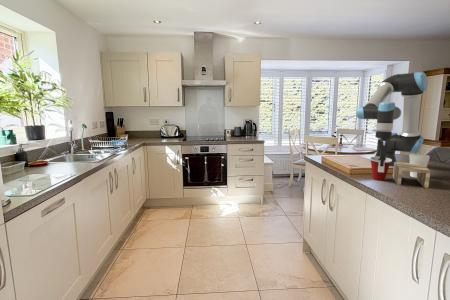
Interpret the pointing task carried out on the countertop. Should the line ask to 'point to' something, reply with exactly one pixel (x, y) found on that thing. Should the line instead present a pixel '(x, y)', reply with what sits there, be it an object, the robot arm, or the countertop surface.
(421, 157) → the foam cup
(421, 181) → the oak shelf
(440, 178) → the countertop surface
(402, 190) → the countertop surface
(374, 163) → the plastic cup
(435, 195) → the countertop surface
